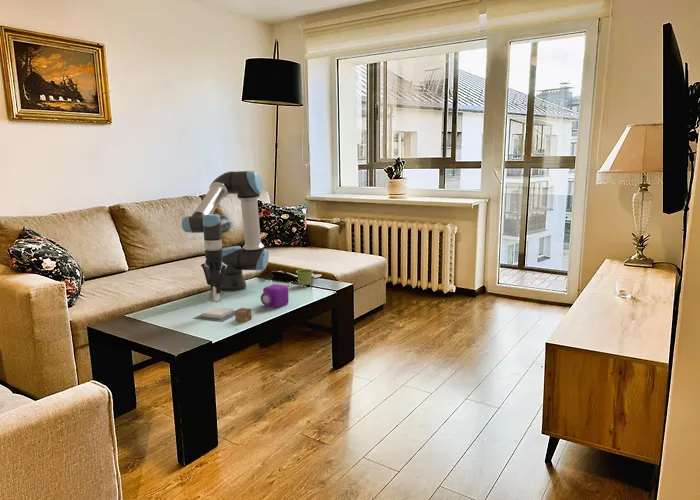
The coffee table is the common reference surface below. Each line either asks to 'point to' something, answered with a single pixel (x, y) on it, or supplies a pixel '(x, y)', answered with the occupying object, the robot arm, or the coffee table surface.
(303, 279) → the plant pot
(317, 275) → the paint knife
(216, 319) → the mat
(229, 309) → the tile
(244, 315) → the block
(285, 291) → the toy camera
